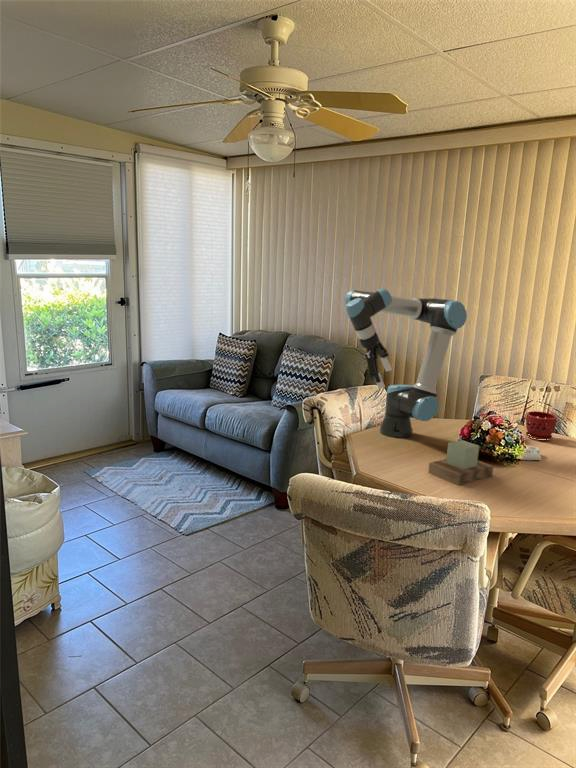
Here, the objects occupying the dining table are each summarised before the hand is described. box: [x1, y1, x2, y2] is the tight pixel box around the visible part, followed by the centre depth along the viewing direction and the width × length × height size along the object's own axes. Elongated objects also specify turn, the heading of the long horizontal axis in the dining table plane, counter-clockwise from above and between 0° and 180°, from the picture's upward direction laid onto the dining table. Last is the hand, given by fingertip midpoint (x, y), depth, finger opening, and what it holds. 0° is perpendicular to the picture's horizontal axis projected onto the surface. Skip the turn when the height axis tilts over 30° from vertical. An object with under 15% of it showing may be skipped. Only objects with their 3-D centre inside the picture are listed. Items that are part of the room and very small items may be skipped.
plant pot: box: [525, 410, 558, 440], centre depth 270 cm, size 13×13×12 cm
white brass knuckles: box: [521, 445, 542, 461], centre depth 243 cm, size 3×18×15 cm
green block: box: [445, 439, 480, 469], centre depth 215 cm, size 8×8×8 cm
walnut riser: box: [428, 458, 494, 486], centre depth 216 cm, size 20×14×4 cm
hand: (385, 379), depth 238 cm, fingers open, 13 cm apart
